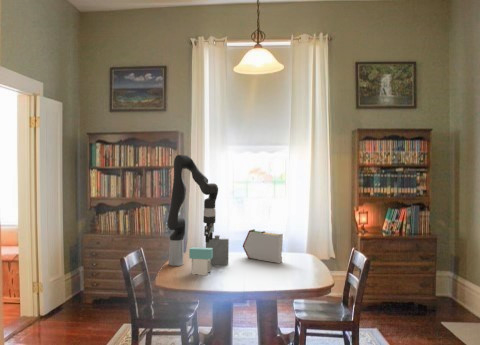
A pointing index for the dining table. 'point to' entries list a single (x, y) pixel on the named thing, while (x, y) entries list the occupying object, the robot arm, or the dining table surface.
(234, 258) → the dining table surface
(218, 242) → the hip flask
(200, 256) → the teal rectangular block
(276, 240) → the model house
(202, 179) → the robot arm
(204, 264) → the cream rectangular block
